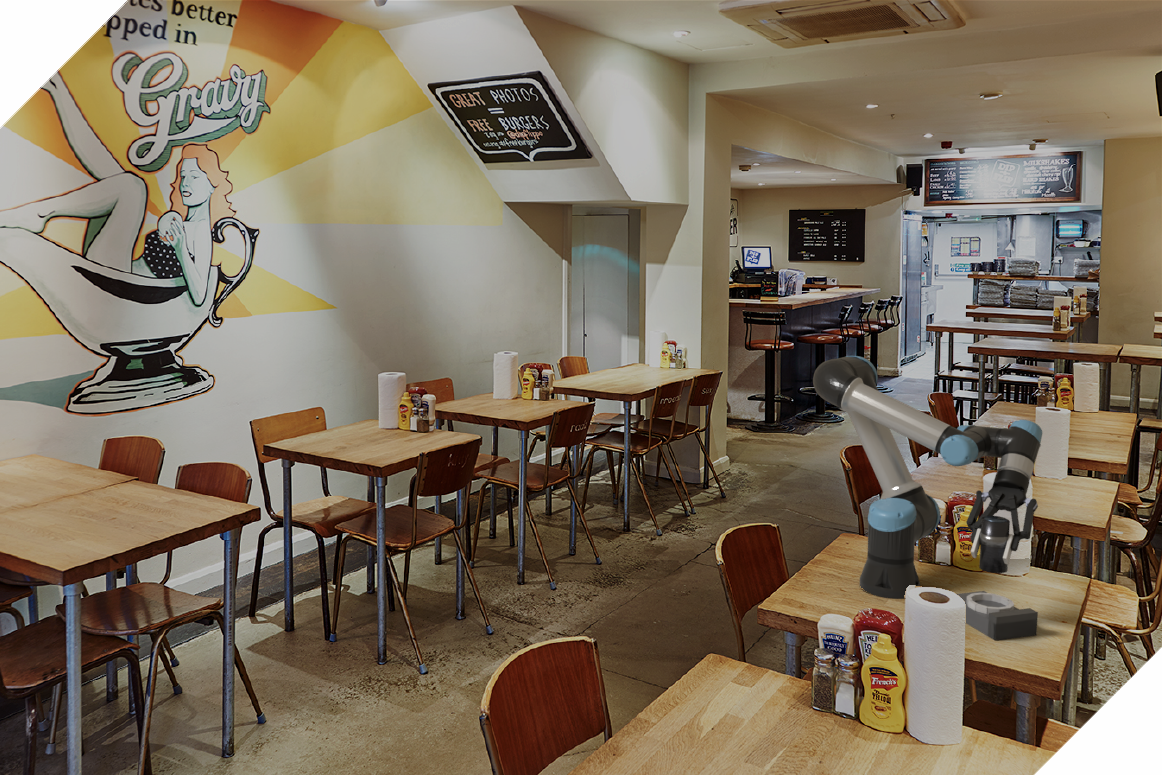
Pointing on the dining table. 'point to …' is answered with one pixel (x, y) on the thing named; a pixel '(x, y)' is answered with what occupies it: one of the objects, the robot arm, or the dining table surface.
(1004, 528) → the lens
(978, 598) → the camera body
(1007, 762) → the dining table surface
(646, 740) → the dining table surface
